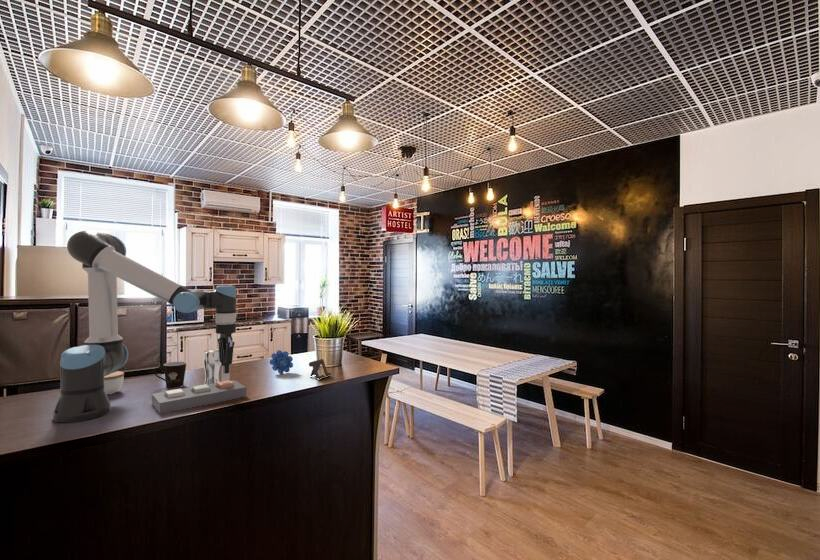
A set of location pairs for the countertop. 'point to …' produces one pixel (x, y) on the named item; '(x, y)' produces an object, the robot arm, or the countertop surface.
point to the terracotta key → (225, 384)
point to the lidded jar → (113, 382)
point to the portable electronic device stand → (316, 367)
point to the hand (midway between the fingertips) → (225, 380)
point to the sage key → (200, 388)
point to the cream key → (174, 393)
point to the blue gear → (281, 361)
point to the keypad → (197, 397)
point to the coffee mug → (173, 374)
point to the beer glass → (211, 366)
